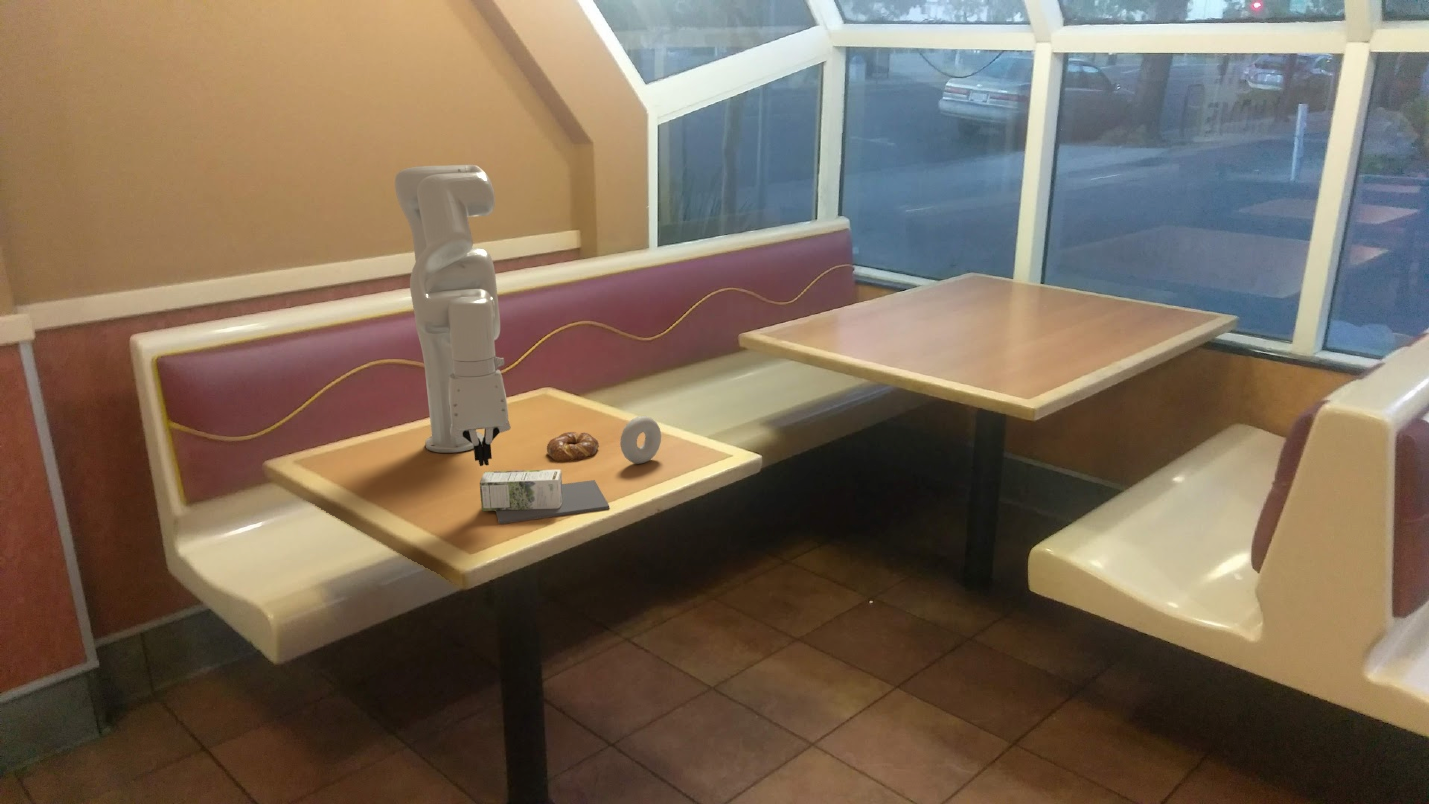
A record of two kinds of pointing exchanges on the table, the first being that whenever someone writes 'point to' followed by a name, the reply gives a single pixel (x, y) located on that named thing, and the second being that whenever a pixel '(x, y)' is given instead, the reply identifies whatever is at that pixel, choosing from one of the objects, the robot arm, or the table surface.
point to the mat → (574, 501)
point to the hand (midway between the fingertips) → (483, 463)
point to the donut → (631, 436)
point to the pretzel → (572, 446)
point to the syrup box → (521, 490)
